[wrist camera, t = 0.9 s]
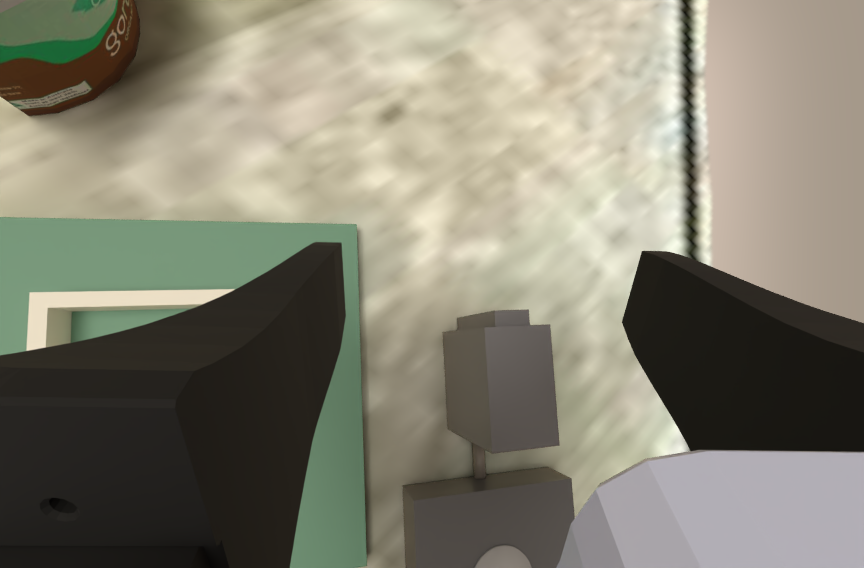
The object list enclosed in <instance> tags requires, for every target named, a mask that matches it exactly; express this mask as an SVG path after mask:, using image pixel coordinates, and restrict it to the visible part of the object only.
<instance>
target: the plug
mask: <svg viewBox="0 0 864 568" xmlns="http://www.w3.org/2000/svg"><path fill="white" fill-rule="evenodd" d="M457 320H458V330H457V331H448V332H443V348H444V367H445V387H446V407H447V427H448V429H449V430H450V431H452V432H454V433H456V434H458V435H459V436H461V437H463V438H465V439H467V440H469V441H470V442H472V443H474V444H476V445H478V446H480V447H481V448H483V449H485V450H487V451H489V452H491V453H500V452H509V451H517V450H526V449H534V448H543V447H551V446H559V432H558V420H557V407H556V394H555V381H554V369H553V356H552V343H551V330H550V325H530V322H529V310H502V311H491V312H485V313H480V314H475V315H470V316H465V317H460V318H457Z"/></svg>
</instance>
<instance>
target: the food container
mask: <svg viewBox="0 0 864 568" xmlns="http://www.w3.org/2000/svg"><path fill="white" fill-rule="evenodd" d="M139 36H140V24H139V16H138V12H137V8H136V5H135V2H134V0H0V97H2V98H3V99H5V100H6V101H8V102H9V103H11V104H12V105H13V106H15V107H16V108H18V109H19V110H21V111H22V112H24V113H25V114H27V115H28V116H34V115H43V114H51V113H59V112H62V111H65V110H67V109H70V108H73V107H76V106H78V105H81V104H84V103H87V102H89V101H92V100H94V99H95V98H97V97H98V96H99V95H101V94H102V93H103V92H105V91H106V90H107V89H109V88H110V87H111V86H113V85H114V84H115V83H117V82H118V81H119V80H120V79H121V77H122V76H123V74H124V72H125V71H126V69H127V68H128V66H129V65H130V63H131V62H132V60H133V59H134V57H135V55H136V50H137V45H138V41H139Z"/></svg>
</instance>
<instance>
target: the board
mask: <svg viewBox="0 0 864 568" xmlns="http://www.w3.org/2000/svg"><path fill="white" fill-rule="evenodd" d="M314 242H340V243H342V258H343V275H344V292H345V309H346V318H345V325H344V331H343V338H342V343H341V349H340V353H339V356H338V359H337V362H336V366H335V369H334V372H333V375H332V378H331V382H330V385H329V388H328V391H327V394H326V397H325V400H324V404H323V407H322V410H321V413H320V416H319V419H318V423H317V426H316V430H315V434H314V437H313V441H312V446H311V451H310V457H309V462H308V467H307V472H306V477H305V482H304V488H303V493H302V499H301V504H300V510H299V515H298V521H297V527H296V533H295V539H294V545H293V551H292V557H291V563H290V568H358V567H364V566H367V556H366V522H365V488H364V454H363V420H362V386H361V353H360V319H359V285H358V251H357V224H316V223H266V222H215V221H165V220H115V219H65V218H15V217H0V355H5V354H12V353H18V352H23V351H29V350H34V349H40V348H45V347H51V346H56V345H62V344H67V343H73V342H77V341H82V340H87V339H91V338H95V337H100V336H104V335H108V334H112V333H116V332H120V331H124V330H127V329H131V328H134V327H138V326H142V325H145V324H148V323H152V322H154V321H157V320H160V319H163V318H166V317H169V316H172V315H175V314H178V313H181V312H184V311H187V310H189V309H192V308H195V307H197V306H200V305H202V304H204V303H207V302H209V301H211V300H214V299H216V298H218V297H221V296H223V295H225V294H227V293H229V292H231V291H233V290H235V289H237V288H239V287H241V286H243V285H244V284H246V283H248V282H250V281H251V280H253V279H255V278H257V277H258V276H260V275H262V274H264V273H266V272H267V271H269V270H271V269H272V268H274V267H275V266H277V265H279V264H280V263H282V262H283V261H285V260H286V259H288V258H289V257H291V256H293V255H294V254H296V253H297V252H299V251H300V250H302V249H303V248H305V247H307V246H308V245H310V244H312V243H314Z"/></svg>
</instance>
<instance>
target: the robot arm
mask: <svg viewBox="0 0 864 568" xmlns="http://www.w3.org/2000/svg"><path fill="white" fill-rule="evenodd" d="M345 318H346V309H345V292H344V275H343V258H342V243H340V242H314V243H312V244H310V245H308V246H307V247H305V248H303V249H302V250H300V251H299V252H297V253H296V254H294V255H293V256H291V257H289V258H288V259H286V260H285V261H283V262H282V263H280V264H279V265H277V266H275V267H274V268H272V269H271V270H269V271H267V272H266V273H264V274H262V275H260V276H258V277H257V278H255V279H253V280H251V281H250V282H248V283H246V284H244V285H243V286H241V287H239V288H237V289H235V290H233V291H231V292H229V293H227V294H225V295H223V296H221V297H218V298H216V299H214V300H211V301H209V302H207V303H204V304H202V305H200V306H197V307H195V308H192V309H189V310H187V311H184V312H181V313H178V314H175V315H172V316H169V317H166V318H163V319H160V320H157V321H154V322H152V323H148V324H145V325H142V326H138V327H134V328H131V329H127V330H124V331H120V332H116V333H112V334H108V335H104V336H100V337H95V338H91V339H87V340H82V341H77V342H73V343H67V344H62V345H56V346H51V347H45V348H40V349H34V350H29V351H23V352H18V353H12V354H5V355H0V568H290V563H291V557H292V551H293V545H294V539H295V533H296V527H297V521H298V515H299V510H300V504H301V499H302V493H303V488H304V482H305V477H306V472H307V467H308V462H309V457H310V451H311V446H312V441H313V437H314V434H315V430H316V426H317V423H318V419H319V416H320V413H321V410H322V407H323V404H324V400H325V397H326V394H327V391H328V388H329V385H330V382H331V378H332V375H333V372H334V369H335V366H336V362H337V359H338V356H339V353H340V349H341V343H342V338H343V331H344V325H345ZM622 323H623V326H624V329H625V331H626V334H627V337H628V340H629V342H630V344H631V347H632V349H633V351H634V354H635V356H636V358H637V359H638V361H639V363H640V365H641V366H642V368H643V370H644V372H645V373H646V375H647V377H648V378H649V380H650V382H651V383H652V385H653V387H654V388H655V390H656V392H657V393H658V395H659V397H660V398H661V400H662V402H663V403H664V405H665V407H666V408H667V410H668V412H669V413H670V415H671V416H672V418H673V420H674V421H675V423H676V425H677V426H678V428H679V430H680V432H681V434H682V435H683V437H684V439H685V441H686V443H687V445H688V447H689V449H690V452H684V453H678V454H672V455H665V456H659V457H653V458H647V459H644V460H642V461H640V462H639V463H637V464H635V465H633V466H631V467H629V468H628V469H626V470H624V471H622V472H620V473H618V474H617V475H615V476H613V477H611V478H609V479H608V480H606V481H604V482H602V483H600V485H599V486H598V487H597V488H596V490H595V491H594V492H593V494H592V495H591V497H590V498H589V499H588V501H587V502H586V503H585V505H584V506H583V508H582V509H581V510H580V512H579V513H578V515H577V516H576V517H575V519H574V520H573V522H572V523H571V525H570V528H569V532H568V535H567V539H566V542H565V545H564V549H563V552H562V556H561V559H560V561H559V563H558V565H557V567H556V568H864V323H861V322H858V321H855V320H851V319H848V318H845V317H842V316H839V315H835V314H832V313H829V312H826V311H823V310H820V309H817V308H814V307H811V306H808V305H805V304H803V303H800V302H797V301H794V300H792V299H789V298H787V297H784V296H781V295H779V294H776V293H773V292H771V291H769V290H766V289H764V288H761V287H759V286H756V285H754V284H751V283H749V282H746V281H744V280H741V279H739V278H737V277H734V276H732V275H730V274H727V273H725V272H723V271H720V270H718V269H715V268H713V267H711V266H708V265H706V264H703V263H701V262H698V261H696V260H693V259H690V258H688V257H685V256H682V255H679V254H675V253H671V252H664V251H642V253H641V257H640V260H639V264H638V267H637V271H636V275H635V278H634V282H633V285H632V289H631V292H630V296H629V299H628V303H627V306H626V310H625V313H624V317H623V321H622Z"/></svg>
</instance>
